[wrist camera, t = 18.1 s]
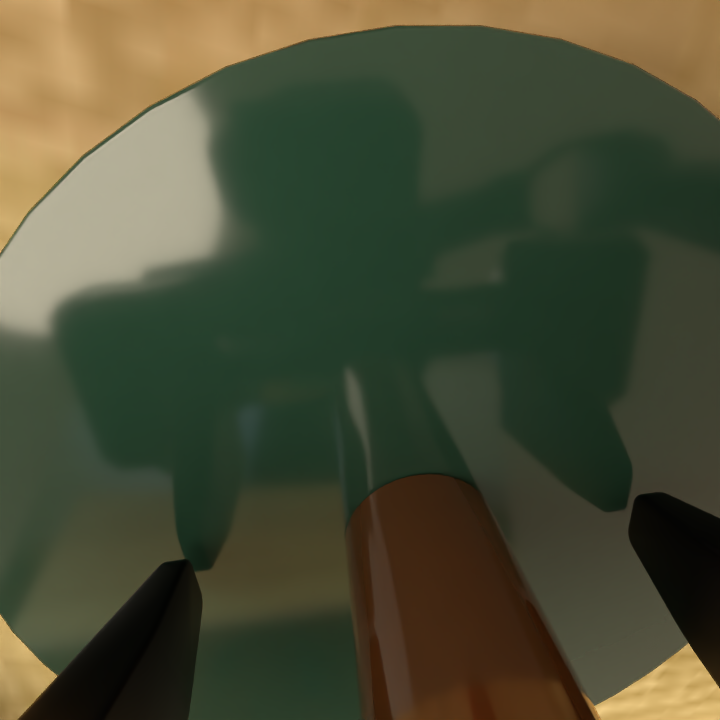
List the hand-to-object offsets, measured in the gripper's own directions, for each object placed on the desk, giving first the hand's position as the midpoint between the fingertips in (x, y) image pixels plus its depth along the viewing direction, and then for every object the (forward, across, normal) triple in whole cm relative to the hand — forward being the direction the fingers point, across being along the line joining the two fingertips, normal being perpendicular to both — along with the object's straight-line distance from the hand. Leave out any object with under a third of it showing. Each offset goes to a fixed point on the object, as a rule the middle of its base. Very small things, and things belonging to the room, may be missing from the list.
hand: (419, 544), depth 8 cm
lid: (+1, 0, 0) cm, 1 cm away
